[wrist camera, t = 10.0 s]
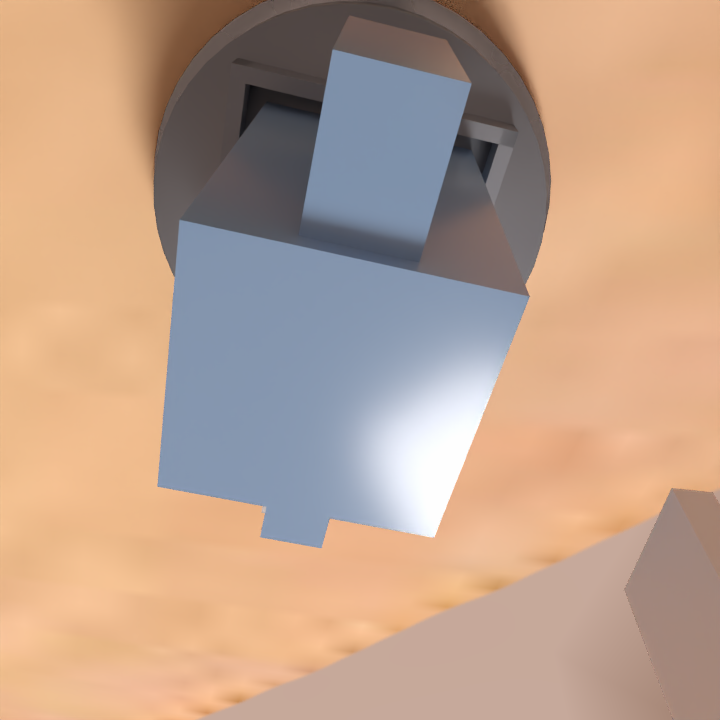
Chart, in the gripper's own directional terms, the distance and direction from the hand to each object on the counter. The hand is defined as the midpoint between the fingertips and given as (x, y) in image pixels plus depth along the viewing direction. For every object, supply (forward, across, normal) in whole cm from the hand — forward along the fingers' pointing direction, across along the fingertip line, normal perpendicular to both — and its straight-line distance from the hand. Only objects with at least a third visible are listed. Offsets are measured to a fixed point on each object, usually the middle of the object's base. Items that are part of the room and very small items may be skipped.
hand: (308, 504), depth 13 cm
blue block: (+14, 0, +2) cm, 14 cm away
